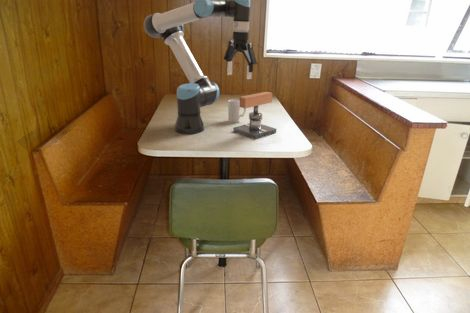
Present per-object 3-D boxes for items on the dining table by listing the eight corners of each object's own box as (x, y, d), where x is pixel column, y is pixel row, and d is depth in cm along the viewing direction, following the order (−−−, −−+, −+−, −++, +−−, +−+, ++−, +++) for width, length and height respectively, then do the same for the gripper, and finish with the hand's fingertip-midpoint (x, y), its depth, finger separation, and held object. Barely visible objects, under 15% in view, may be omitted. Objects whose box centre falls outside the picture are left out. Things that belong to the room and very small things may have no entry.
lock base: (233, 131, 179) (233, 118, 176) (254, 125, 189) (254, 113, 187) (255, 139, 168) (256, 125, 166) (276, 132, 179) (277, 119, 176)
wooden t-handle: (237, 120, 172) (237, 96, 167) (263, 113, 185) (264, 91, 180) (246, 123, 167) (247, 98, 163) (272, 116, 180) (274, 93, 176)
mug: (227, 122, 193) (227, 101, 188) (228, 119, 199) (228, 99, 195) (245, 123, 193) (245, 102, 188) (245, 119, 199) (246, 99, 194)
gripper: (217, 29, 165) (216, 73, 174) (255, 33, 149) (252, 81, 158) (228, 29, 170) (227, 72, 179) (266, 33, 154) (262, 80, 163)
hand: (239, 76), depth 168 cm, fingers open, 13 cm apart
